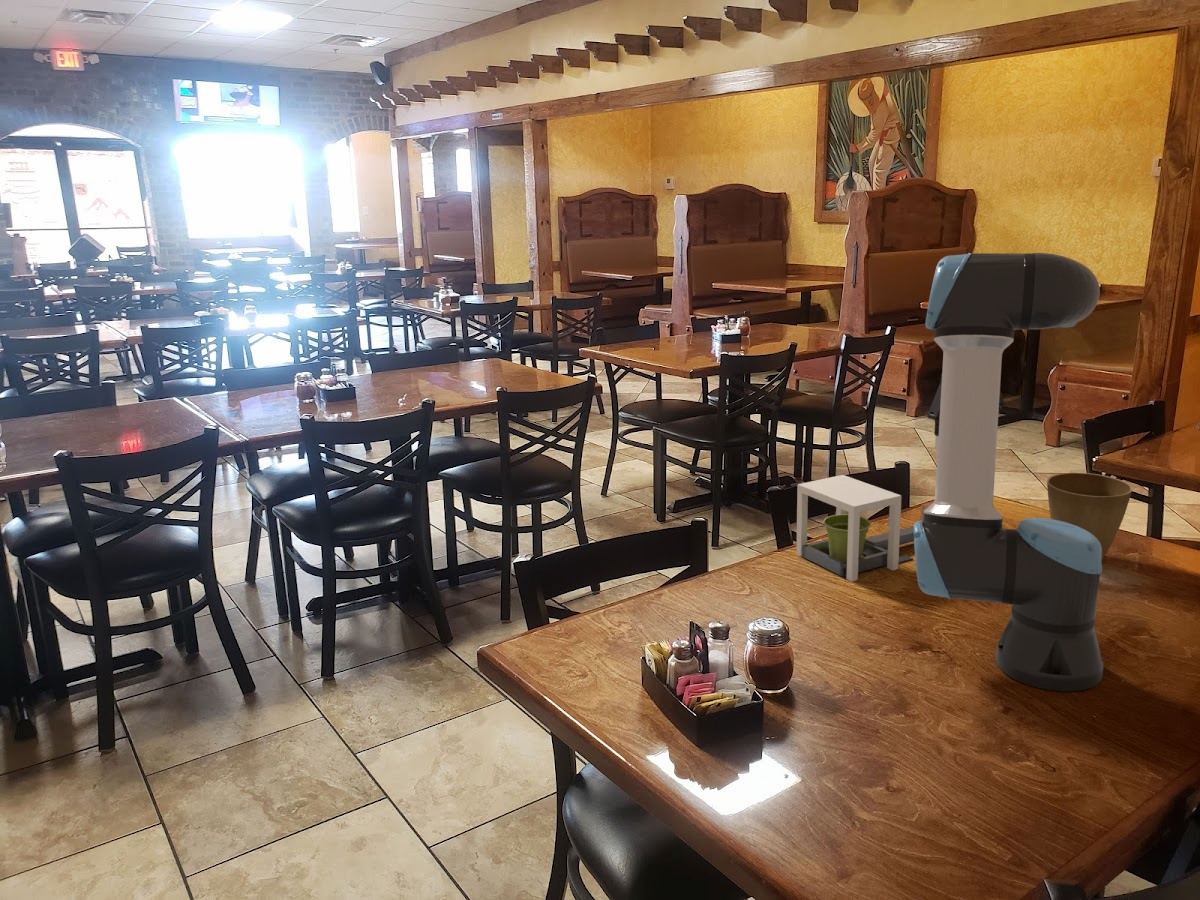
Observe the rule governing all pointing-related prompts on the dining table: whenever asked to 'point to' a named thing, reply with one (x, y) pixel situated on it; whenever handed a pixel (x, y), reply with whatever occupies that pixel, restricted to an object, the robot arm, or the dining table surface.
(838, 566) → the long-handled tray
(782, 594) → the dining table surface
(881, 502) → the white mini stool
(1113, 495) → the plant pot
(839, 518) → the plant pot
